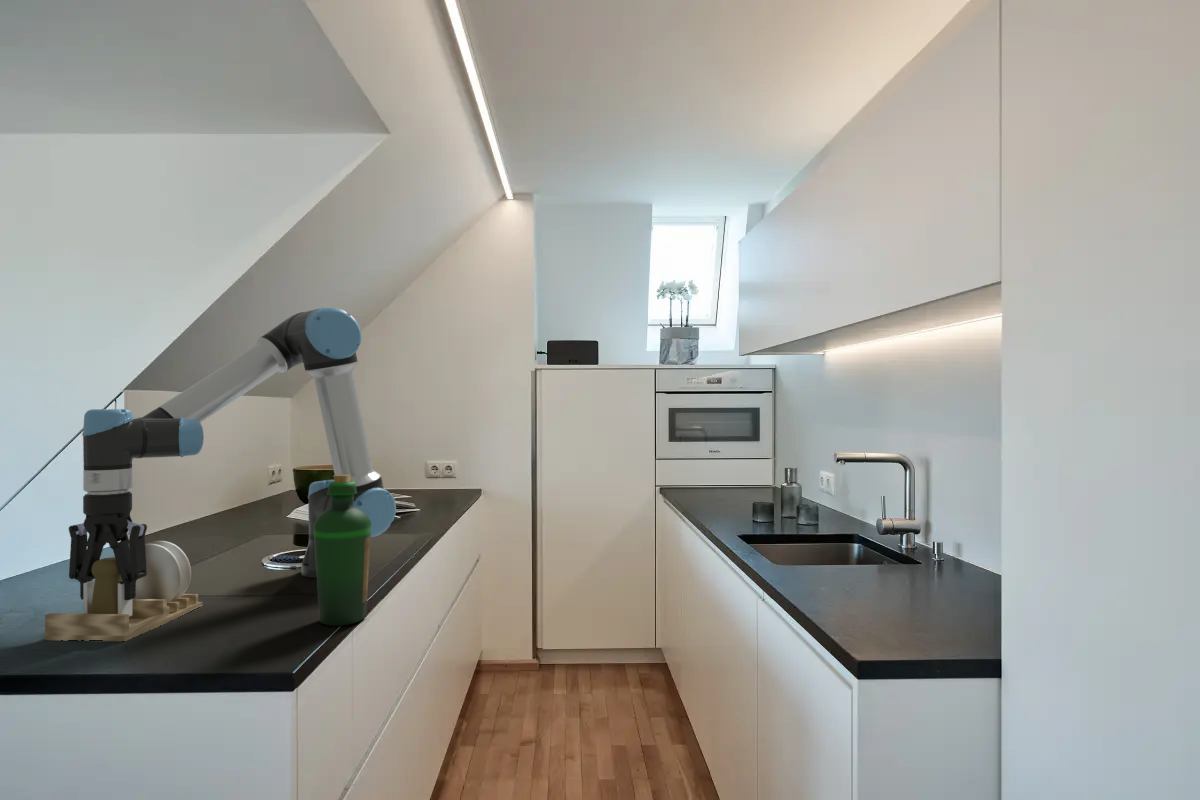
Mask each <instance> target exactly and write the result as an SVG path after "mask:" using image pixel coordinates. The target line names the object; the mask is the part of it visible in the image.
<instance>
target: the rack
mask: <svg viewBox="0 0 1200 800" xmlns="http://www.w3.org/2000/svg"><path fill="white" fill-rule="evenodd" d="M145 551H146V568H147V575H146V576H145V577H142V578H139V579H137V580H136V596H135V598H134V599H132V616H129V614H83V613H64V612H63V613H60V612H59V613H57V612H55V613H53V612H52V613H51V612H50V613H46V614H44V640H45V641H61V640H63V642H64V641H66V642H67V641H68V640H78V641H79V642H80V641H81V640H84V641H83V642H90V641H89V640H103V641H102V642H122V641H125V642H127V641H129V640H131V639H134V638H136V637H138V636H140V634H141V635H143V634H145V633H147V632H149V630H150V631H152V630H153V629H156V628H158V627H161V626H163V625H164V624H167V623H169V621H170V622H171V620H172V621H174V620H176V619H178V617H179V618H181V617H183V616H185V615H187V614H186V613H188V612H190V611H192V610H194V609H196V608H198V607H201V606H203V605H204V603H203V601H199V593H186V591H187V589H188V588H189V587H190V583H191V579H192V567H191V564H190V559H189V558H188V556H187V555H186V553H185V552H184V551H183V549H182V548H180V547H179V546H178V545H176V544H175V543H173V542H170V541H166V540H156V541H151V542H149V543H145ZM203 607H204V606H203ZM201 608H202V607H201ZM196 610H197V609H196ZM194 611H195V610H194ZM192 612H193V611H192ZM190 613H191V612H190ZM184 614H185V615H184ZM188 614H189V613H188ZM182 615H183V616H182ZM180 616H181V617H180ZM160 625H161V626H160ZM133 637H134V638H133ZM78 641H77V642H78ZM81 642H82V641H81Z"/></svg>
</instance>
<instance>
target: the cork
mask: <svg viewBox="0 0 1200 800" xmlns="http://www.w3.org/2000/svg"><path fill="white" fill-rule="evenodd" d="M92 574H93V576H94V577H95V579H94V580H95V584H94V590H93V596H92V603H91V609H90V614H118V584H119V582H120V581H122V579H121V575H120V572H119V568H118V565H117V562H116V558H115V556H114V557H113V556H112V557H104V558H101V559H100V560H97V561H96V562H94V564H93V566H92Z"/></svg>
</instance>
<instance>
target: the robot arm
mask: <svg viewBox="0 0 1200 800" xmlns="http://www.w3.org/2000/svg"><path fill="white" fill-rule="evenodd" d="M361 342H362V331H361V328H360V325H359V323H358V322H357V320H356V318H355V317H353V315H352V314H350V313H349V312H347V311H346V310H344V309H341V308H339V307H321V308H315V309H313V310H307V311H302V312H298V313H295V314H293V315H291V316H289V317H288V318H286V319H284V320H283V321H282V322H280V323H279V324H278V325H276V326H275V327H273V328H272V329H271V330H269V331H267V333H264V335H262V336H260V337H259V338H257V339H256V345H254V346H252V347H251V348H250V349H248V350H246V351H245V352H243V353H242V354H241V355H239V356H237V357H235V358H234V359H232V360H231V361H229V362H227V363H226V364H224V365H223V366H221V367H219V368H218V369H216V370H215V371H214V372H211V373H210V374H208V375H207V376H206V377H203V378H202V379H201V380H199V381H198V382H196V383H194V384H193V385H190V386H189V387H188V388H186V389H184V390H183V391H181V392H180V393H178V394H177V395H175V396H174V397H171V399H168V400H167V401H166V402H164V403H163V404H161V405H158V407H157V408H155V409H153V410H151V411H150V412H148V413H147V414H145V415H143V416H141V417H136V418H134V416H133V411H132V410H131V409H129V408H118V409H117V408H111V409H110V408H109V409H108V408H104V409H103V408H102V409H101V408H98V409H96V408H95V409H92V408H91V409H89V410H87V411H86V412H85V413H84V415H83V428H82V434H81V436H82V439H83V440H82V447H83V449H82V453H83V454H82V457H83V458H82V460H83V464H82V465H83V471H82V473H83V477H82V478H83V479H82V480H83V481H82V482H83V484H82V488H83V489H82V490H83V491H84V492H85V493H86V494H83V495H84V496H83V497H82V507H83V508H82V513H83V515H85V519H84V520H83V523H78V524H73V525H70V526H69V527H68V532H69V535H70V550H69V553H70V555H69V566H68V578H69V579H70V580H77V582H79V589H80V590H79V595H80V600H83V611H82V612H83V613H82V614H90V609H91V603H92V596H93V590H94V584H95V577H94V576H93V574H92V566H93V564H94V562H96V561H97V560H100V558H101V557H102V553H103V550H104V546H105V545H106V544H108V545H109V548H111V549H112V551H113V555H114V558H116V562H117V565H118V568H119V572H120V575H121V579H122V581H120V582H119V584H118V614H129V616H132V599H134V598H135V596H136V580H137V579H139V578H142V577H145V576H146V575H147V568H146V551H145V544H146V539H145V536H146V533H147V529H148V525H147V524H146V523H141V524H139V523H137V522H133V520H132V516H131V512H132V510H133V493H132V492H131V491H130V490H131V489H132V488H133V460H134V459H144V458H145V459H147V458H151V459H152V458H172V457H174V458H175V457H177V458H178V457H180V458H183V457H189V456H196V455H198V454H200V452H201V450H202V448H203V445H204V437H205V436H204V429H203V426H202V423H203V422H204V421H206V420H207V419H209V418H211V417H212V416H213V415H215V414H216V413H218V412H220V411H221V410H222V409H224V408H225V407H227V406H229V405H230V404H231V403H234V402H235V401H236V400H238V399H239V398H241V397H242V396H243V395H245V394H246V393H247V392H249V391H250V390H252V389H253V388H255V387H256V386H259V385H260V384H261V383H263V382H264V381H265V380H267V379H269V378H271V377H272V376H273V375H275V374H277V373H283V374H284V373H285V372H287V371H289V370H291V369H292V368H294V367H297V366H298V365H301V364H303V367H304V371H305V373H306V374H308V375H310V376H311V377H312V379H313V380H314V384H315V385H314V386H315V390H316V394H317V399H318V403H319V408H320V413H321V416H322V423H323V426H324V431H325V436H326V440H327V444H328V445H327V446H328V450H329V454H330V458H331V464H332V468H333V473H334V475H343V474H348V475H351V479H350V481H355V485H356V490H357V493H356V494H354V503H353V507H356V508H358V509H360V510H361V511H363V512H364V513H365V514H366V515H367V516H368V518H369V519H370V521H371V536H370V538H374V537H378V536H380V535H382V534H383V533H385V531H387V529H389V528H390V526H391V524H392V522H393V521H394V520H395V517H396V512H397V504H396V500H395V497H394V496H393V495H392V494H391V492H390V491H388V490H387V489H385V488H384V484H383V483H384V482H383V477H382V475H381V473H379V472H378V471H376V470H374V468H373V463H372V459H371V454H370V449H369V444H368V438H367V434H366V430H365V425H364V420H363V415H362V410H361V405H360V402H359V401H360V400H359V397H358V390H357V385H356V382H355V381H356V380H355V376H354V369H356V366H357V365H358V364H359V361H358V357H357V353H356V352H357V351H358V350H359V347H360V345H361V344H362V343H361ZM330 482H334V479H327V480H319V481H314V482H311V483H310V484H309V487H308V495H307V500H308V501H307V502H308V503H307V504H308V505H307V506H308V544H307V548H306V550H305V553H304V556H303V560H302V562H301V565H300V567H301V572H300V573H301V574H300V575H301V576H303V577H306V578H309V579H310V578H312V579H317V574H316V559H315V543H314V528H313V524H314V522H315V521H316V519H317V518H318V516H319V515H320V514H322V513H323V512H324V511H326V510H327V509H330V508H332V507H331V497H330V495H328V494H327V493H328V488H329V483H330Z"/></svg>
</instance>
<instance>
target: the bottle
mask: <svg viewBox="0 0 1200 800" xmlns="http://www.w3.org/2000/svg"><path fill="white" fill-rule="evenodd" d="M350 479H351V475H348V474H343V475H335V474H334V475H333V480H334V482H330V483H329V488H328V493H327V494H328V495H330V497H331V507H332V508H330V509H327V510H326V511H324V512H323V513H322V514H320V515H319V516H318V518H317V519H316V521H315V522H314V524H313V528H314V543H315V559H316V574H317V578H316V587H317V588H316V589H317V600H318V601H317V602H318V617H319V623H320V624H323V625H326V626H330V627H342V626H350V625H354V624H356V623H359V622H361V621H363V620H364V619H365V618H367V613H368V612H367V611H368V610H367V609H368V607H367V606H368V593H369V592H368V589H369V588H368V587H369V574H370V573H369V572H370V555H371V554H370V551H371V537H370V536H371V521H370V519H369V518H368V516H367V515H366V514H365V513H364V512H363V511H361V510H360V509H358V508H356V507H353V503H354V494H356V493H357V490H356V485H355V481H350Z"/></svg>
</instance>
